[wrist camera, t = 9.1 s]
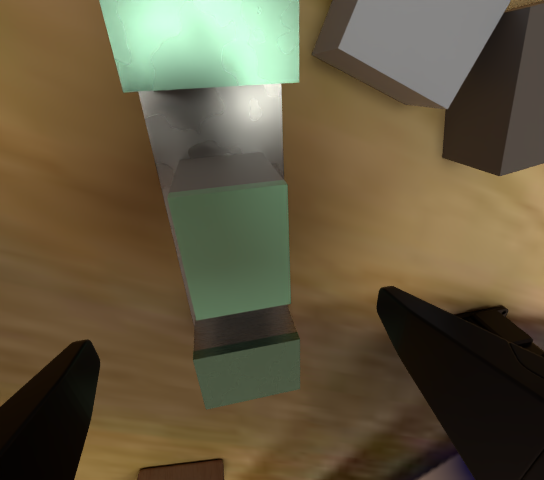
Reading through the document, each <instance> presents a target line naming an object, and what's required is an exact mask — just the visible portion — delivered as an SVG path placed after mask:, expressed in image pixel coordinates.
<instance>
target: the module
mask: <svg viewBox="0 0 544 480" xmlns="http://www.w3.org/2000/svg"><path fill="white" fill-rule="evenodd" d="M167 199H168V204H169V208H170V212H171V216H172V220H173V225H174V229H175V233H176V237H177V241H178V246H179V250H180V254H181V258H182V262H183V266H184V271H185V275H186V279H187V283H188V287H189V292H190V296H191V300H192V304H193V308H194V313H195V317H196V321H197V320H202V319H208V318H214V317H219V316H225V315H230V314H236V313H242V312H247V311H253V310H259V309H264V308H270V307H275V306H281V305H287V304H291V291H290V256H289V220H288V185H287V183H286V182H285V180H284V179H283V178H282V177H281V175H280V174H279V173H278V172H277V170H276V169H275V168H274V167H273V165H272V164H271V163H270V162H269V160H268V159H267V158H266V157H265V155H264V154H263V153H262V152H255V153H245V154H235V155H224V156H214V157H204V158H194V159H184V160H179V163H178V166H177V169H176V172H175V175H174V178H173V182H172V185H171V188H170V191H169V194H168V197H167Z"/></svg>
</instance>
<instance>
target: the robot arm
mask: <svg viewBox="0 0 544 480" xmlns="http://www.w3.org/2000/svg"><path fill="white" fill-rule="evenodd" d="M377 313H378V315H379V317H380V319H381V321H382V323H383V325H384V327H385V329H386V331H387V334H388V336H389V338H390V340H391V342H392V344H393V346H394V348H395V350H396V352H397V354H398V355H399V357H400V359H401V361H402V362H403V364H404V365H405V367H406V369H407V370H408V372H409V373H410V375H411V377H412V378H413V380H414V382H415V383H416V385H417V386H418V388H419V390H420V391H421V393H422V394H423V396H424V398H425V399H426V401H427V402H428V404H429V406H430V407H431V409H432V411H433V412H434V414H435V415H436V417H437V419H438V420H439V422H440V423H441V425H442V427H443V428H444V430H445V432H446V433H447V435H448V436H449V438H450V440H451V441H452V443H453V444H454V446H455V448H456V449H457V451H458V453H459V454H460V456H461V457H462V459H463V461H464V462H465V464H466V465H467V467H468V469H469V470H470V472H471V473H472V475H473V477H474V478H475V480H544V351H543V350H542V349H540V348H539V347H538V346H537V345H535V344H534V343H533V339H532V338H531V337H530V336H529V335H528V334H526V333H525V332H524V331H523V330H521V329H520V328H519V327H517V326H516V325H515V324H514V323H512V322H511V321H510V320H509V319H507V318H506V315H507V313H508V309H507V308H505V307H504V306H502V307H497V308H491V309H486V310H481V311H476V312H471V313H466V314H461V315H456V316H455V315H453V314H451V313H449V312H447V311H444V310H442V309H440V308H438V307H436V306H434V305H432V304H430V303H428V302H426V301H423V300H421V299H419V298H417V297H415V296H413V295H411V294H409V293H407V292H405V291H402V290H400V289H398V288H396V287H394V286H387V287H382V288H380V290H379V294H378V300H377ZM99 370H100V359H99V357H98V355H97V352H96V350H95V348H94V346H93V344H92V342H91V341H90V340H81V341H75V342H73V343H71V344H70V345H69V346H68V347H67V348H65V349H64V350H63V351H62V352H61V353H60V354H59V355H58V356H57V357H55V358H54V359H53V360H52V361H51V362H50V363H49V364H48V365H46V366H45V367H44V368H43V369H42V370H41V371H40V372H39V373H38V374H36V375H35V376H34V377H33V378H32V379H31V380H30V381H29V382H28V383H26V384H25V385H24V386H23V387H22V388H21V389H20V390H19V391H17V392H16V393H15V394H14V395H13V396H12V397H11V398H10V399H9V400H7V401H6V402H5V403H4V404H3V405H2V406H1V407H0V480H74V478H75V475H76V471H77V468H78V464H79V461H80V457H81V454H82V450H83V447H84V443H85V440H86V436H87V432H88V429H89V425H90V421H91V416H92V411H93V405H94V399H95V394H96V388H97V382H98V376H99Z"/></svg>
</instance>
